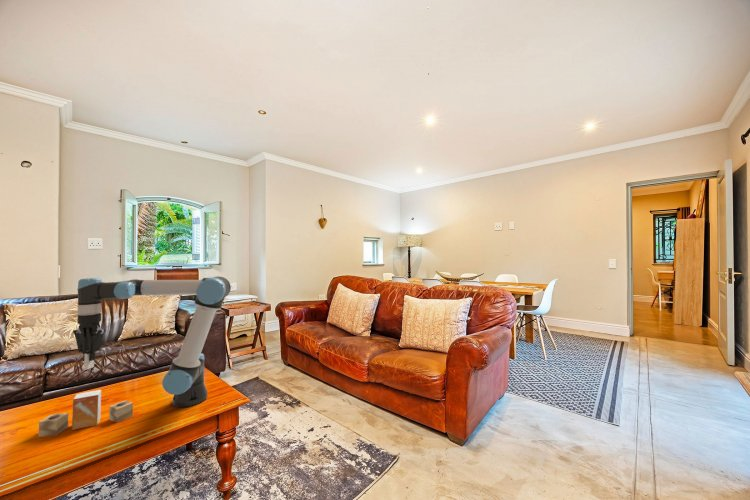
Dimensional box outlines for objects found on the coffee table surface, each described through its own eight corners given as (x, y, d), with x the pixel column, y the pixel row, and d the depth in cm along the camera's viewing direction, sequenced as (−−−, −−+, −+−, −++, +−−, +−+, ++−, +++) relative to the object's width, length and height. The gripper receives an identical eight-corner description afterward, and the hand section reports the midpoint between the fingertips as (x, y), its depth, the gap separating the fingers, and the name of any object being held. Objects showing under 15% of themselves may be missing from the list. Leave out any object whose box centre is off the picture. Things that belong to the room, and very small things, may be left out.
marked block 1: (68, 427, 128) (68, 412, 128) (56, 435, 122) (56, 419, 122) (51, 428, 127) (51, 413, 127) (38, 437, 121) (39, 421, 121)
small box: (71, 430, 125) (72, 399, 126) (75, 423, 131) (76, 393, 131) (97, 424, 130) (98, 394, 130) (100, 418, 135) (101, 389, 135)
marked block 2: (132, 416, 137) (132, 402, 137) (117, 422, 132) (117, 408, 132) (124, 413, 140) (125, 399, 140) (109, 419, 134) (109, 405, 134)
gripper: (111, 312, 135) (111, 365, 134) (84, 312, 135) (83, 364, 135) (95, 315, 127) (94, 371, 127) (66, 315, 128) (65, 371, 128)
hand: (89, 368), depth 131 cm, fingers closed
